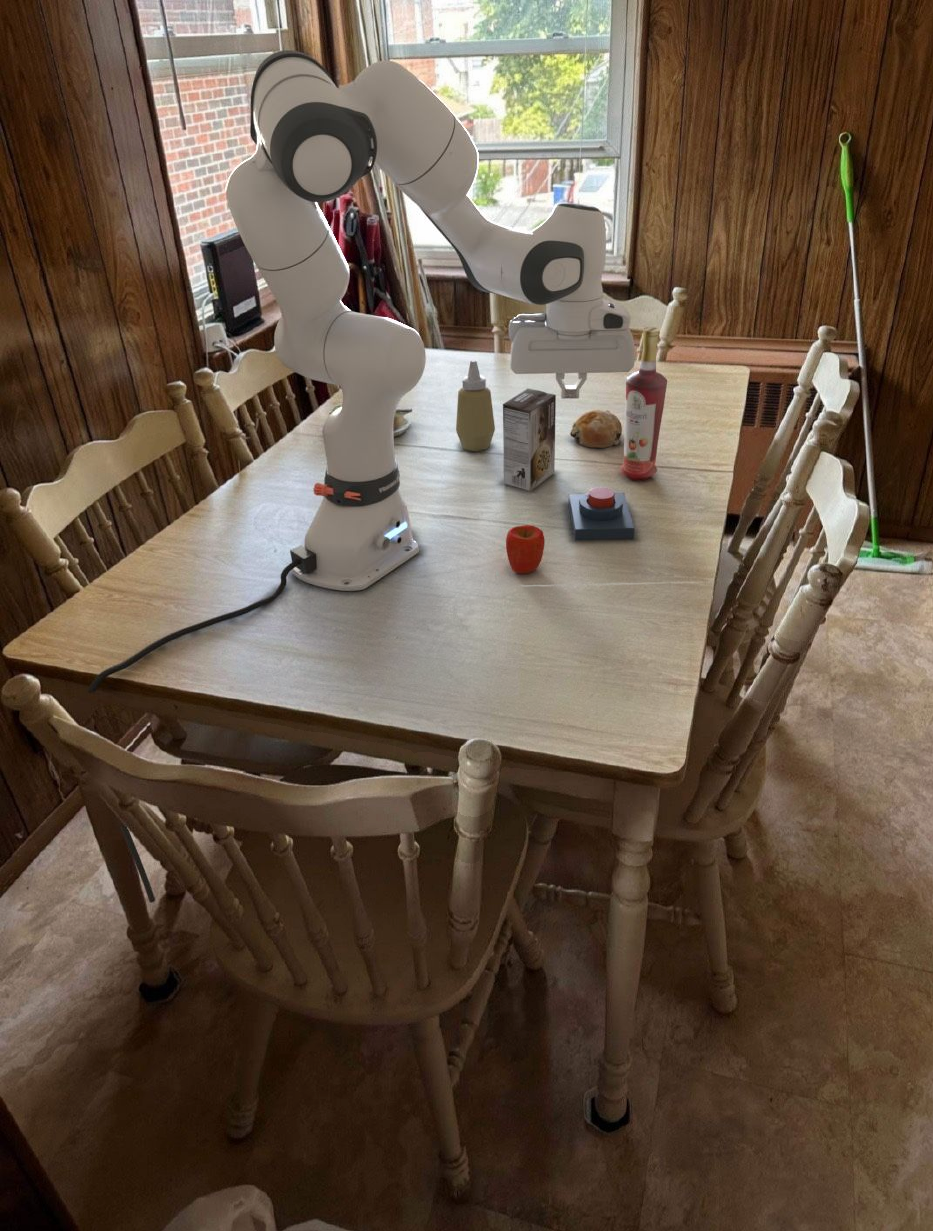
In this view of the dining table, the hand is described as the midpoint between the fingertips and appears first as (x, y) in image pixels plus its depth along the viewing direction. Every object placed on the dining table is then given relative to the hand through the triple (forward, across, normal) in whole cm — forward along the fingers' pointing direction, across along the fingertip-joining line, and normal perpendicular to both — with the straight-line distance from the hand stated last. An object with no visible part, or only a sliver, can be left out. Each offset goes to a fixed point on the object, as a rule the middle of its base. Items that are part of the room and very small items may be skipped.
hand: (569, 397), depth 148 cm
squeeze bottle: (+21, -16, +28) cm, 39 cm away
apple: (+22, -8, -21) cm, 31 cm away
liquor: (+21, +15, +13) cm, 29 cm away
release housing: (+21, +6, -5) cm, 22 cm away
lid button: (+17, +6, -5) cm, 19 cm away
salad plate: (+21, -40, +38) cm, 59 cm away
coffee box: (+21, -6, +12) cm, 25 cm away
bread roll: (+20, +9, +30) cm, 37 cm away
